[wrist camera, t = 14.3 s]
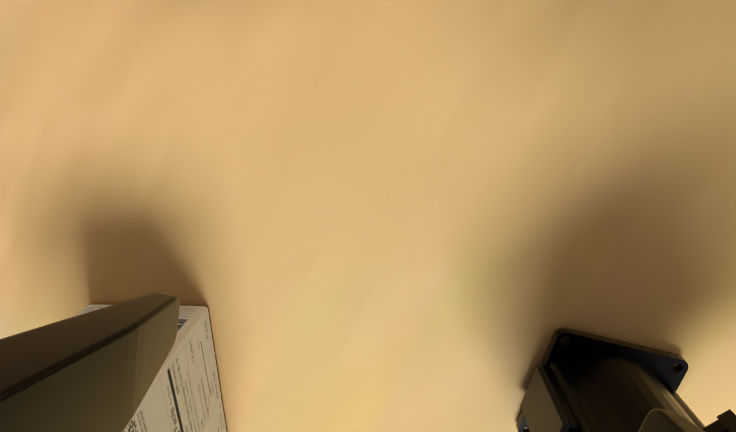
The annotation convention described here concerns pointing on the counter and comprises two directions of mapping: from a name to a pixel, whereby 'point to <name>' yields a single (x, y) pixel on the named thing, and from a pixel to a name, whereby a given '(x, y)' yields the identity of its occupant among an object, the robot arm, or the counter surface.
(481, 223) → the counter surface
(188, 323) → the light bulb box
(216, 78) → the counter surface
